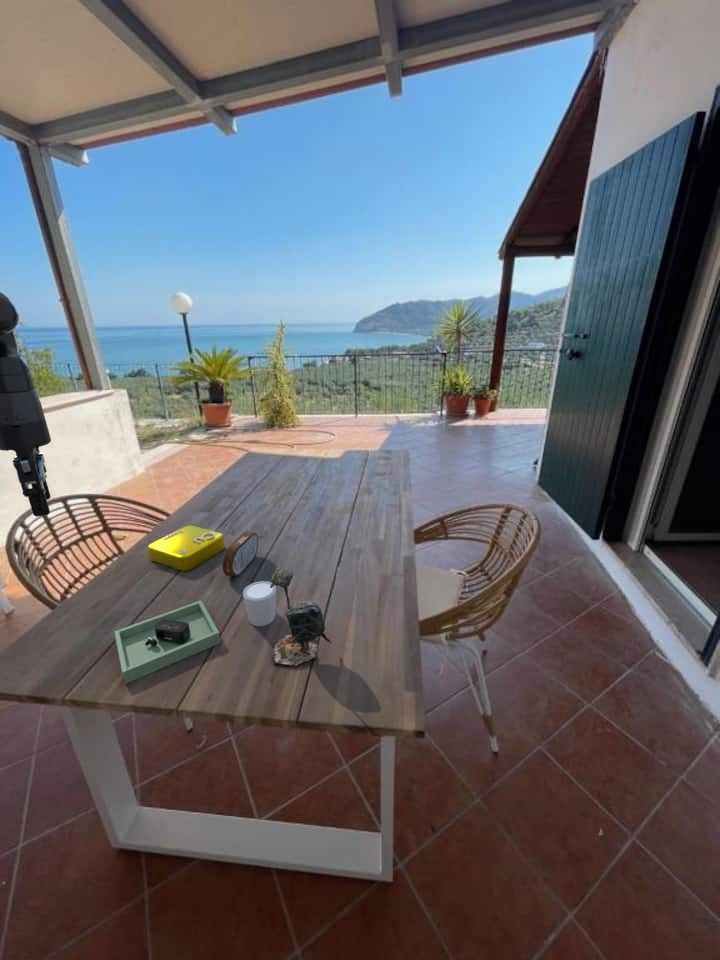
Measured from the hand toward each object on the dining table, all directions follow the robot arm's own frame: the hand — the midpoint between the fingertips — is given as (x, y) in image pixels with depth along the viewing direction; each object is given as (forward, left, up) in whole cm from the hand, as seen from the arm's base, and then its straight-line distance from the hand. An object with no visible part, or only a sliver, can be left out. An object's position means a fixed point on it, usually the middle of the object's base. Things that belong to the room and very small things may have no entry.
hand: (43, 507), depth 71 cm
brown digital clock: (+36, +4, -28) cm, 46 cm away
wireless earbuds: (+14, -14, -28) cm, 34 cm away
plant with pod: (+34, -32, -28) cm, 55 cm away
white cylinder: (+32, -18, -28) cm, 46 cm away
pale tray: (+14, -14, -28) cm, 34 cm away
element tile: (+26, +20, -28) cm, 43 cm away
